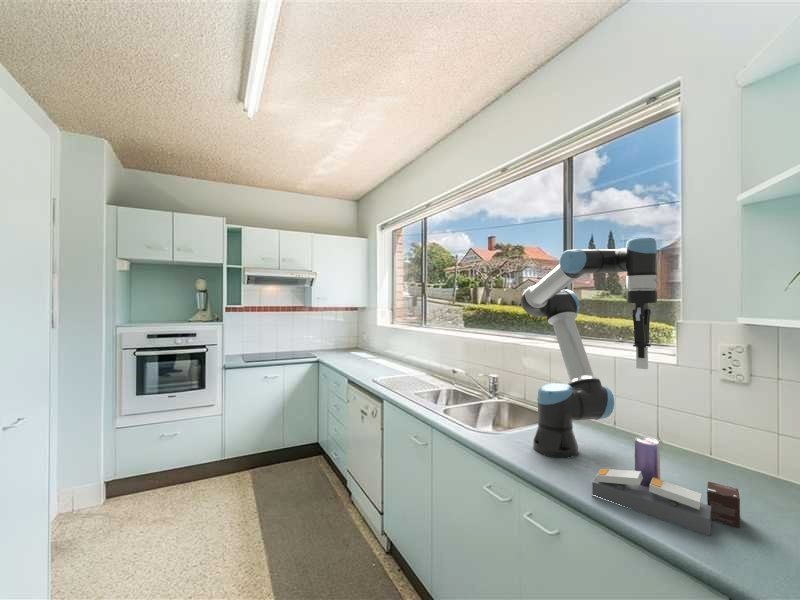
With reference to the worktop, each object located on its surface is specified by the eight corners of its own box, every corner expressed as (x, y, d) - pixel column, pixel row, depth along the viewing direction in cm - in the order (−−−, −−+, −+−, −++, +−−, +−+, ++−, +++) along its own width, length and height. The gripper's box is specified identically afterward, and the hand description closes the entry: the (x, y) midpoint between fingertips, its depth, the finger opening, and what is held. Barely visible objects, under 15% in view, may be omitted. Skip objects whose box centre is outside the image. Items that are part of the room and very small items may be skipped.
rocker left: (598, 481, 100) (596, 474, 101) (603, 475, 104) (601, 467, 104) (639, 485, 94) (637, 477, 94) (642, 478, 97) (640, 470, 98)
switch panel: (592, 496, 101) (592, 479, 101) (599, 486, 106) (599, 470, 106) (709, 536, 83) (709, 515, 83) (711, 522, 89) (711, 502, 89)
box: (739, 517, 90) (739, 488, 90) (740, 529, 86) (740, 499, 86) (707, 508, 94) (707, 480, 94) (707, 519, 90) (706, 490, 90)
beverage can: (649, 499, 98) (648, 445, 98) (629, 488, 104) (629, 437, 104) (665, 496, 100) (665, 442, 100) (645, 485, 106) (645, 435, 106)
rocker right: (649, 491, 92) (649, 483, 92) (652, 483, 96) (652, 476, 96) (699, 509, 85) (700, 501, 85) (700, 500, 89) (701, 492, 89)
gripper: (652, 289, 100) (653, 373, 100) (660, 289, 109) (660, 366, 110) (622, 290, 105) (622, 370, 105) (631, 290, 115) (632, 363, 115)
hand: (642, 368), depth 108 cm, fingers closed
